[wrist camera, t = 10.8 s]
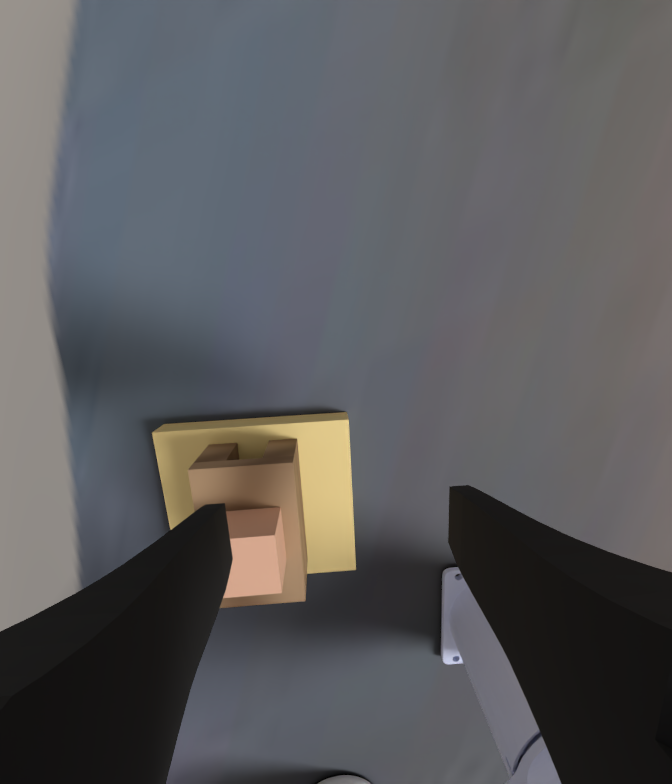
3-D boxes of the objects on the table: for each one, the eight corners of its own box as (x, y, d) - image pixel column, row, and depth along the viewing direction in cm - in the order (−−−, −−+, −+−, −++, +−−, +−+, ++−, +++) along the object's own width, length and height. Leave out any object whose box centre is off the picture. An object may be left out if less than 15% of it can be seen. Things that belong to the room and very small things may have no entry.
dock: (346, 412, 21) (348, 419, 20) (353, 553, 23) (356, 570, 22) (163, 424, 21) (151, 432, 19) (189, 566, 23) (180, 583, 22)
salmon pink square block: (280, 506, 17) (274, 535, 15) (286, 559, 18) (281, 593, 16) (219, 511, 17) (205, 540, 15) (227, 563, 18) (214, 598, 16)
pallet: (297, 438, 20) (292, 462, 17) (307, 558, 21) (305, 601, 18) (208, 444, 19) (187, 470, 16) (227, 565, 21) (211, 608, 18)
